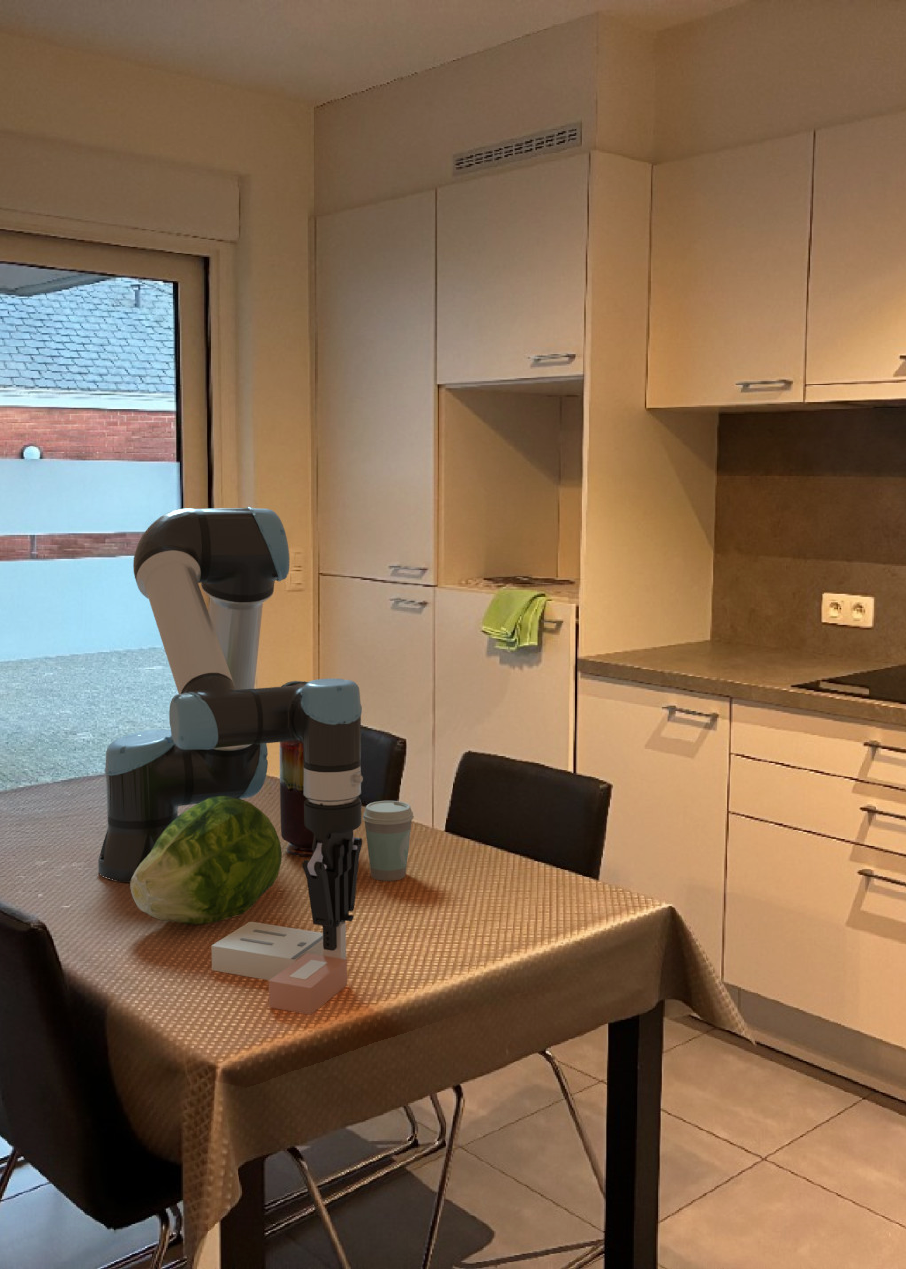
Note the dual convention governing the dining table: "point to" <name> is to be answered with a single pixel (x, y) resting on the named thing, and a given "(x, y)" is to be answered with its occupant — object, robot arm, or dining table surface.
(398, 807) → the coffee cup
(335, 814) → the robot arm
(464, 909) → the dining table surface
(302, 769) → the vase
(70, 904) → the dining table surface
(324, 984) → the stub
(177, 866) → the lettuce
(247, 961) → the two-slot toaster
